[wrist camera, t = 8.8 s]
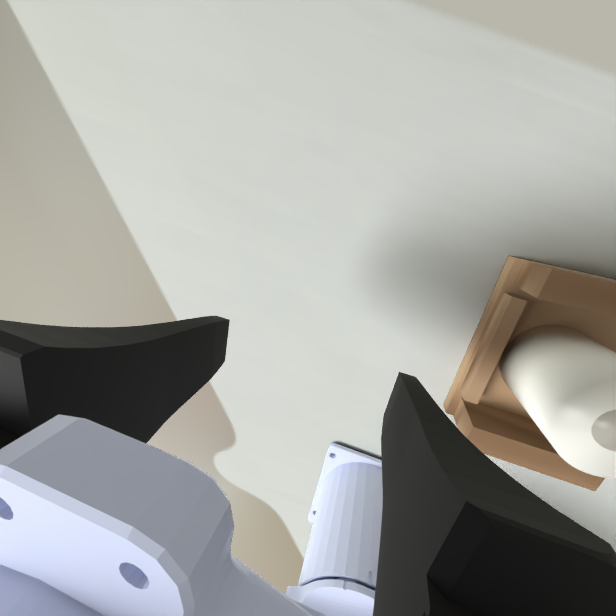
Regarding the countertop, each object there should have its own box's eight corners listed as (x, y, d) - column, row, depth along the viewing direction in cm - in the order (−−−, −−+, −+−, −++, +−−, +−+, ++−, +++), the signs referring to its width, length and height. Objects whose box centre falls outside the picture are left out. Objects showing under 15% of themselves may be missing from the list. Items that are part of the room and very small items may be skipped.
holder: (564, 443, 20) (605, 494, 16) (443, 404, 21) (454, 443, 18) (664, 290, 16) (746, 312, 12) (508, 255, 18) (540, 266, 14)
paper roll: (574, 409, 18) (661, 496, 12) (487, 388, 19) (532, 459, 13) (613, 336, 16) (734, 397, 11) (516, 316, 17) (580, 363, 12)
